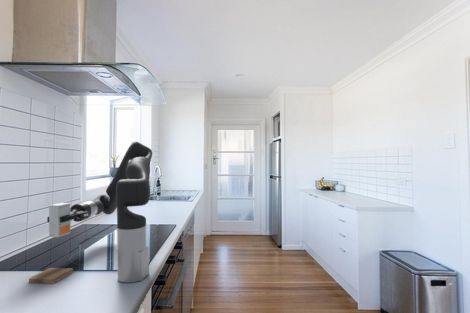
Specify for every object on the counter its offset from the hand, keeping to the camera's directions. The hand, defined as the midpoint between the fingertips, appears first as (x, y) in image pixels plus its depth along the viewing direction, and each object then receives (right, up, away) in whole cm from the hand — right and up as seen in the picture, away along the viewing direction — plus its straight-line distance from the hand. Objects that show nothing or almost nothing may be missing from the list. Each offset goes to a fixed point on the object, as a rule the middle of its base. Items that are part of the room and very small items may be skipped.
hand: (54, 219), depth 104 cm
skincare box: (0, -7, +3) cm, 7 cm away
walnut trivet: (+5, -18, -9) cm, 20 cm away
